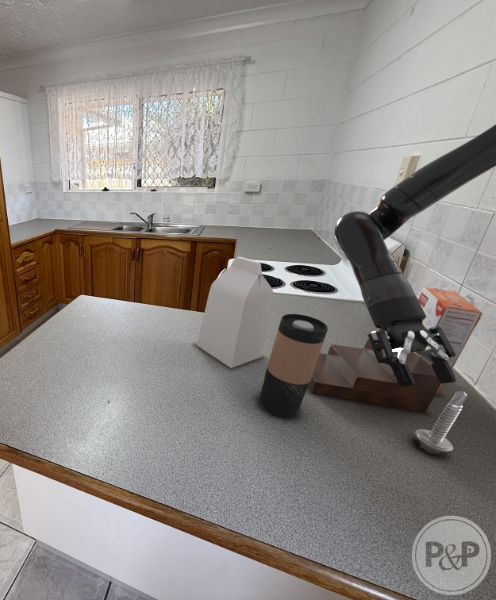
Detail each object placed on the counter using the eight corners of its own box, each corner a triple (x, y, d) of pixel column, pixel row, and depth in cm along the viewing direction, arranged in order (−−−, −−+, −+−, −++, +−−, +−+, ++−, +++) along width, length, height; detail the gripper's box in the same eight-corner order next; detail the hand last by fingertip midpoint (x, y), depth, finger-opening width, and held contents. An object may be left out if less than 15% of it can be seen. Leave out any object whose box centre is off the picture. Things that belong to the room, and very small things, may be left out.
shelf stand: (311, 393, 70) (324, 359, 67) (293, 359, 83) (303, 329, 79) (425, 412, 65) (445, 377, 61) (387, 373, 77) (402, 342, 74)
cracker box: (389, 358, 84) (422, 285, 76) (419, 365, 81) (457, 290, 73) (403, 386, 73) (444, 305, 65) (439, 396, 70) (486, 312, 62)
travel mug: (298, 402, 67) (327, 319, 59) (298, 425, 61) (330, 336, 53) (259, 389, 71) (281, 310, 63) (256, 410, 65) (280, 325, 57)
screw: (455, 461, 54) (424, 457, 55) (432, 439, 59) (403, 436, 59) (495, 402, 49) (460, 399, 50) (465, 383, 53) (434, 380, 54)
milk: (196, 345, 88) (211, 256, 78) (225, 336, 93) (243, 251, 83) (231, 368, 78) (253, 269, 68) (261, 357, 83) (286, 263, 73)
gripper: (377, 295, 58) (417, 384, 52) (441, 292, 60) (487, 378, 54) (343, 309, 65) (375, 389, 59) (401, 306, 67) (438, 384, 61)
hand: (428, 384), depth 56 cm, fingers open, 8 cm apart
